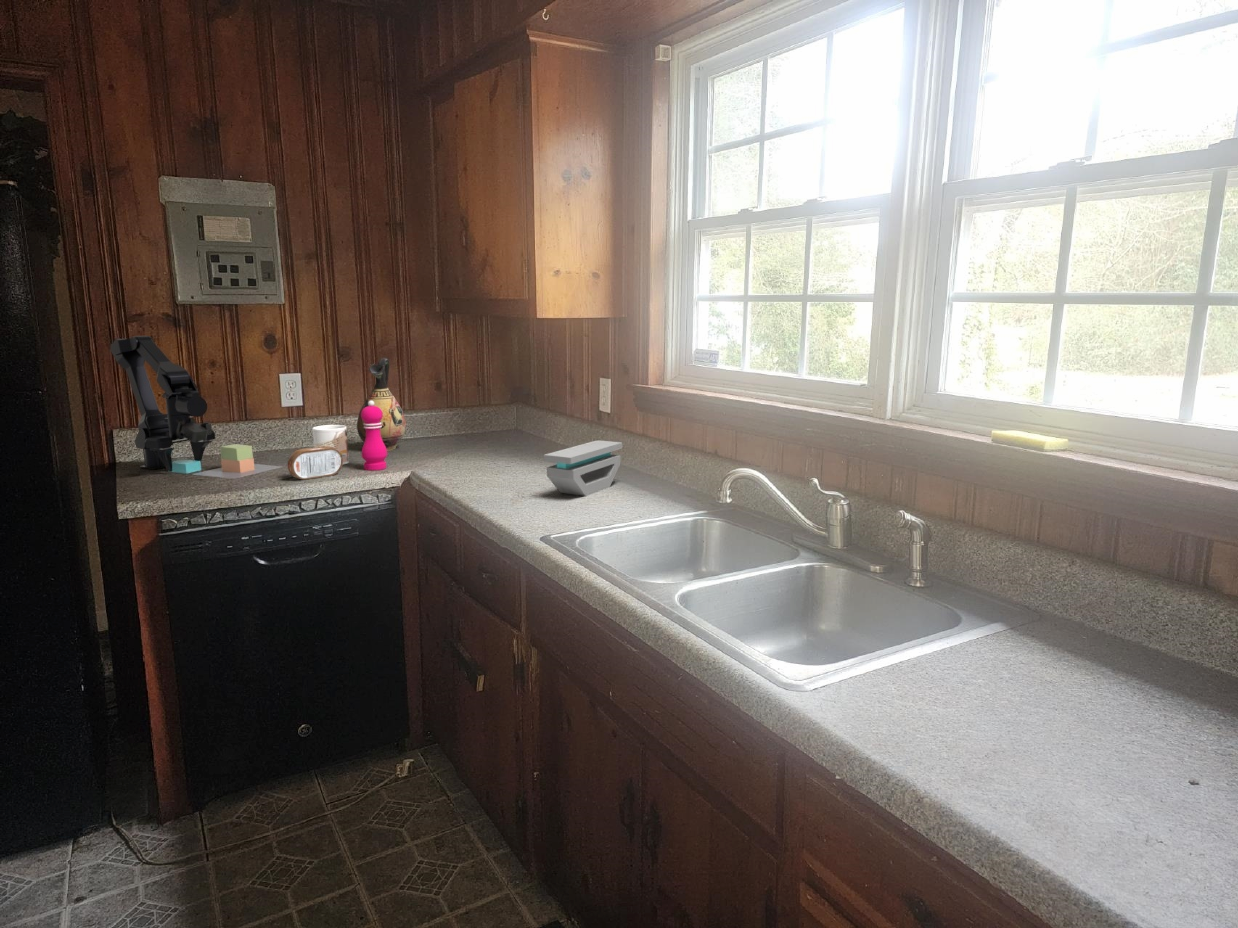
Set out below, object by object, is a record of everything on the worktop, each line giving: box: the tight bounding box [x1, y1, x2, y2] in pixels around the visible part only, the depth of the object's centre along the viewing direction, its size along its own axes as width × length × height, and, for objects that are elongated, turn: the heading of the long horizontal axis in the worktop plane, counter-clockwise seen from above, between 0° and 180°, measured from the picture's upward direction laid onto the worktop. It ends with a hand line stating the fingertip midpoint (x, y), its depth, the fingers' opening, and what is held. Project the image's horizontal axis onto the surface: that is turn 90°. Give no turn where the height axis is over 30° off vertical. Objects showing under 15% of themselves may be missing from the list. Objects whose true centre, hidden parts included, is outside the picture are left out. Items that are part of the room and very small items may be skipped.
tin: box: [287, 446, 344, 481], centre depth 224 cm, size 15×3×8 cm, turn 134°
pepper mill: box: [361, 401, 388, 471], centre depth 234 cm, size 7×7×20 cm
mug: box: [311, 424, 350, 465], centre depth 245 cm, size 10×12×11 cm
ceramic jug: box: [356, 357, 407, 452], centre depth 266 cm, size 17×15×30 cm
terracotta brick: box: [220, 457, 255, 473], centre depth 231 cm, size 7×5×4 cm
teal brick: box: [167, 459, 202, 474], centre depth 231 cm, size 7×5×4 cm
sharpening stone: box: [543, 439, 623, 497], centre depth 207 cm, size 25×8×11 cm, turn 150°
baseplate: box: [191, 463, 283, 480], centre depth 231 cm, size 16×18×1 cm
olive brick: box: [219, 443, 254, 461], centre depth 230 cm, size 7×5×4 cm
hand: (184, 468), depth 231 cm, fingers open, 9 cm apart
